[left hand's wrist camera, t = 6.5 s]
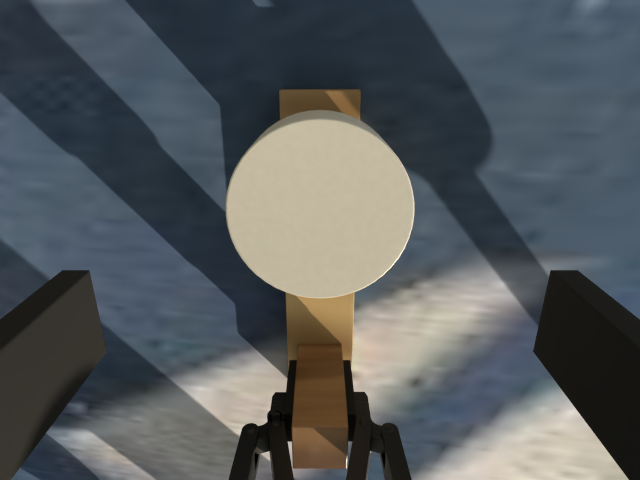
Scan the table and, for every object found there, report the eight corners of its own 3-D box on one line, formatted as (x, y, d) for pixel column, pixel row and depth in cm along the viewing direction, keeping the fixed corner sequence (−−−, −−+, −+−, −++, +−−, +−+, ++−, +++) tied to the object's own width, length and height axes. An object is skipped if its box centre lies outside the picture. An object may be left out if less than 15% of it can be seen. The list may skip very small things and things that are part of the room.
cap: (406, 109, 23) (422, 118, 19) (395, 265, 26) (407, 298, 22) (233, 109, 23) (217, 118, 19) (244, 265, 26) (232, 298, 22)
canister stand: (274, 88, 34) (252, 99, 23) (365, 88, 34) (387, 99, 23) (285, 381, 44) (273, 488, 33) (354, 381, 44) (366, 488, 33)
